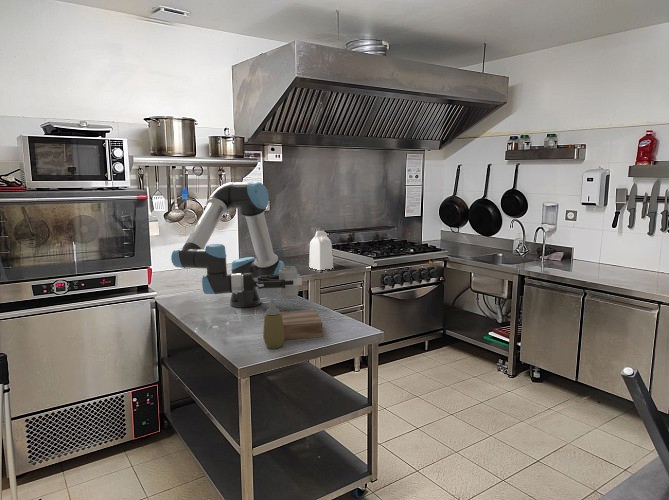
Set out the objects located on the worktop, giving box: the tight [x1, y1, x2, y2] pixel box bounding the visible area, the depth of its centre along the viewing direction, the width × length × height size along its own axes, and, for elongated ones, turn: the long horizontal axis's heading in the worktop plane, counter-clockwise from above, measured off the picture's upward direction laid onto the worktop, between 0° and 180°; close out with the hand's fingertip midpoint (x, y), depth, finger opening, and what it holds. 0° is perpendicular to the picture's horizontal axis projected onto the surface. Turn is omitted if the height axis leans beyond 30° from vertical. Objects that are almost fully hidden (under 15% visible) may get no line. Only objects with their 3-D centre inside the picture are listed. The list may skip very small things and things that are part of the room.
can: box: [278, 265, 299, 299], centre depth 192 cm, size 8×8×12 cm
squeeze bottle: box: [262, 299, 285, 349], centre depth 178 cm, size 8×8×18 cm
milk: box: [308, 230, 334, 271], centre depth 324 cm, size 12×12×26 cm
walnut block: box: [279, 309, 324, 341], centre depth 196 cm, size 18×18×6 cm
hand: (300, 279), depth 193 cm, fingers closed on can, 7 cm apart
